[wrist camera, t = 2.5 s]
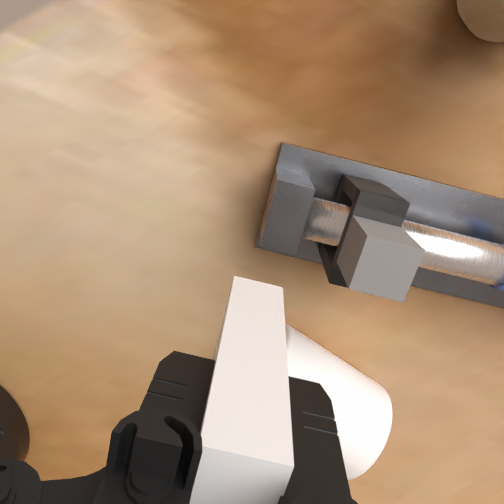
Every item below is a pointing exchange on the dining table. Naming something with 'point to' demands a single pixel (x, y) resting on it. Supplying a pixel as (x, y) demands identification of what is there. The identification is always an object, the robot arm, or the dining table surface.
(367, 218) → the collar
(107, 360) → the dining table surface
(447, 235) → the pipe rig
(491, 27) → the flower pot
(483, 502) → the dining table surface
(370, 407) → the mug
